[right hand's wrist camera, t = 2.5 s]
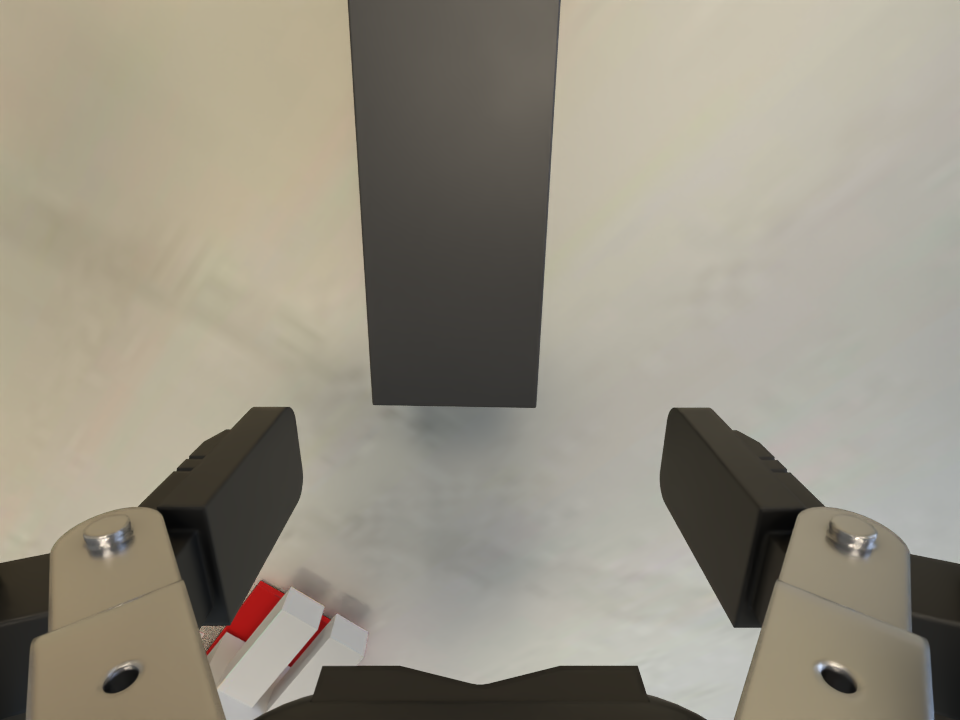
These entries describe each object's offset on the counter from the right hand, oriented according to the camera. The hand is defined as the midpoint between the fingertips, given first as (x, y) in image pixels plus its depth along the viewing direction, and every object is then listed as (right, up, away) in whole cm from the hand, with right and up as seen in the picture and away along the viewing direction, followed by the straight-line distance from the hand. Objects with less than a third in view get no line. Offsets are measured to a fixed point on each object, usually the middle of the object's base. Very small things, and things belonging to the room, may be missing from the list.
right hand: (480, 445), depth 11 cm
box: (-1, +14, +16) cm, 22 cm away
